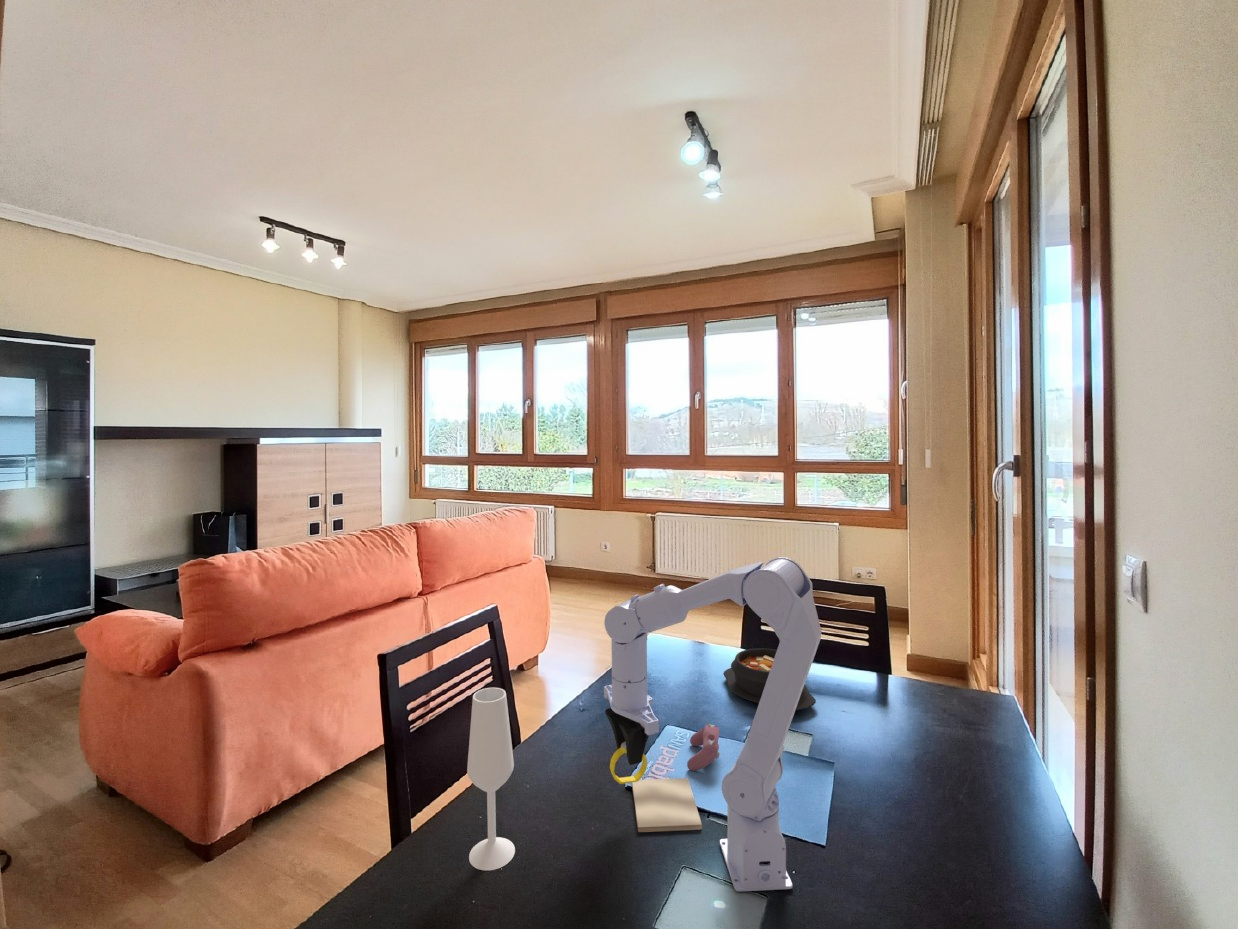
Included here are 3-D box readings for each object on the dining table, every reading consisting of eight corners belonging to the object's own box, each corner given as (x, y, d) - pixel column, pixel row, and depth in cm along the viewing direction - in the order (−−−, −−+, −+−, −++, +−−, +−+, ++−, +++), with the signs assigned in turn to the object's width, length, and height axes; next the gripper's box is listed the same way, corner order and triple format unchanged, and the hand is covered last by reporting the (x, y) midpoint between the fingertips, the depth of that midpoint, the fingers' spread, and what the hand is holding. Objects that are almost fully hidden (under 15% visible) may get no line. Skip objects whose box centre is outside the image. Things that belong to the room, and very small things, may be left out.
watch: (613, 790, 89) (613, 753, 89) (608, 780, 92) (608, 744, 92) (648, 782, 91) (648, 746, 91) (642, 773, 94) (642, 738, 94)
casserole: (835, 710, 126) (836, 673, 126) (767, 726, 119) (768, 688, 119) (766, 667, 149) (766, 636, 149) (705, 679, 142) (705, 647, 142)
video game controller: (707, 782, 103) (724, 750, 102) (684, 769, 103) (702, 737, 102) (708, 752, 112) (725, 723, 111) (688, 740, 113) (704, 711, 112)
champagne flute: (524, 853, 83) (521, 695, 82) (483, 878, 79) (480, 710, 77) (499, 830, 88) (497, 680, 87) (460, 852, 83) (457, 694, 82)
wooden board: (701, 829, 88) (701, 824, 88) (638, 832, 88) (638, 827, 87) (688, 782, 100) (688, 778, 100) (632, 784, 99) (632, 780, 99)
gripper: (675, 687, 87) (675, 773, 87) (628, 655, 99) (629, 730, 100) (635, 697, 83) (636, 787, 84) (592, 663, 96) (593, 741, 96)
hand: (630, 757), depth 92 cm, fingers closed on watch, 3 cm apart
